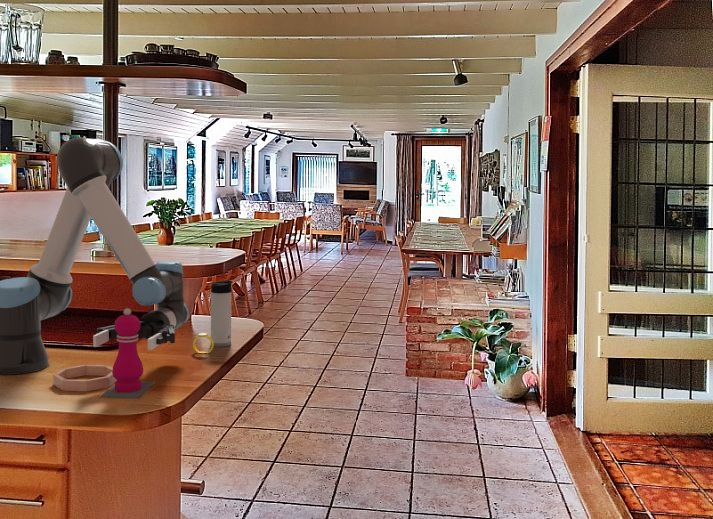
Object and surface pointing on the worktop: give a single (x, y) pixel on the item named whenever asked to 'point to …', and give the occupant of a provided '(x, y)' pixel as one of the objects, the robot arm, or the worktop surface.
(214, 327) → the travel mug
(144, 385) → the mat
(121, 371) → the pepper mill
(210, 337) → the watch
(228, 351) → the worktop surface
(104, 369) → the octagonal frame ring
